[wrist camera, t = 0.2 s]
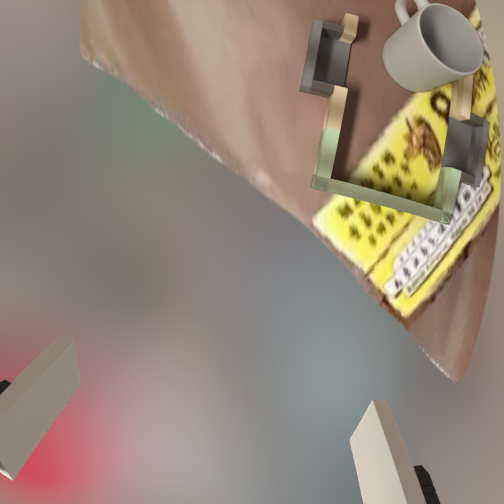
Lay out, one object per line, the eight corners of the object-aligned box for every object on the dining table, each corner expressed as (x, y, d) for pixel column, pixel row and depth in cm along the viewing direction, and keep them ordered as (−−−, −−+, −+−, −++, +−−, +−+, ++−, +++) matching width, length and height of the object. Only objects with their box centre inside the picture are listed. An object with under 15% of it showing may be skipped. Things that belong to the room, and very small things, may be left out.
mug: (447, 87, 32) (495, 72, 21) (397, 98, 33) (439, 81, 22) (411, 9, 29) (447, -24, 18) (359, 16, 30) (385, -23, 19)
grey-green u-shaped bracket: (313, 15, 30) (316, 5, 27) (480, 80, 30) (492, 76, 28) (281, 180, 37) (282, 181, 34) (457, 226, 37) (468, 231, 34)
